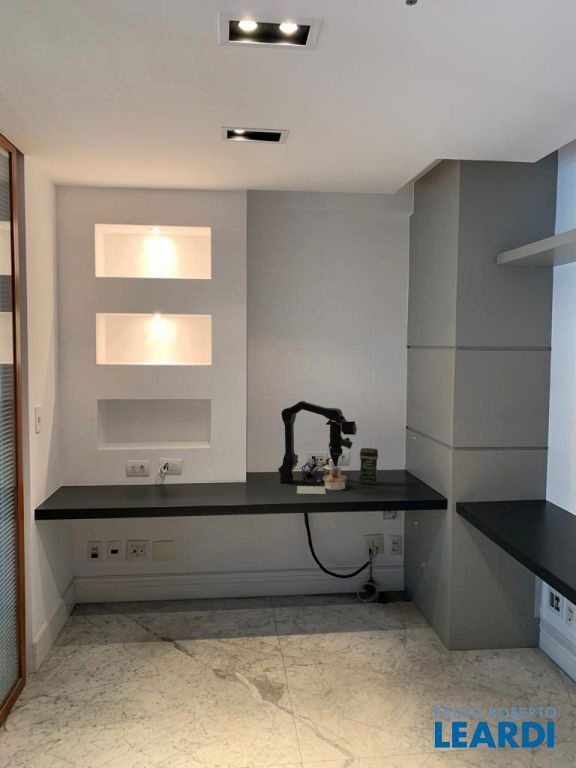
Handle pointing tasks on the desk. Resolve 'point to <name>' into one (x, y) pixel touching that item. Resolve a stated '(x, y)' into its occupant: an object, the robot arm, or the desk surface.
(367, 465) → the coffee jar
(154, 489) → the desk surface
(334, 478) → the lid
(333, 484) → the bowl
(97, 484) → the desk surface
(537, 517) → the desk surface
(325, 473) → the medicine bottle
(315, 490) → the mat
